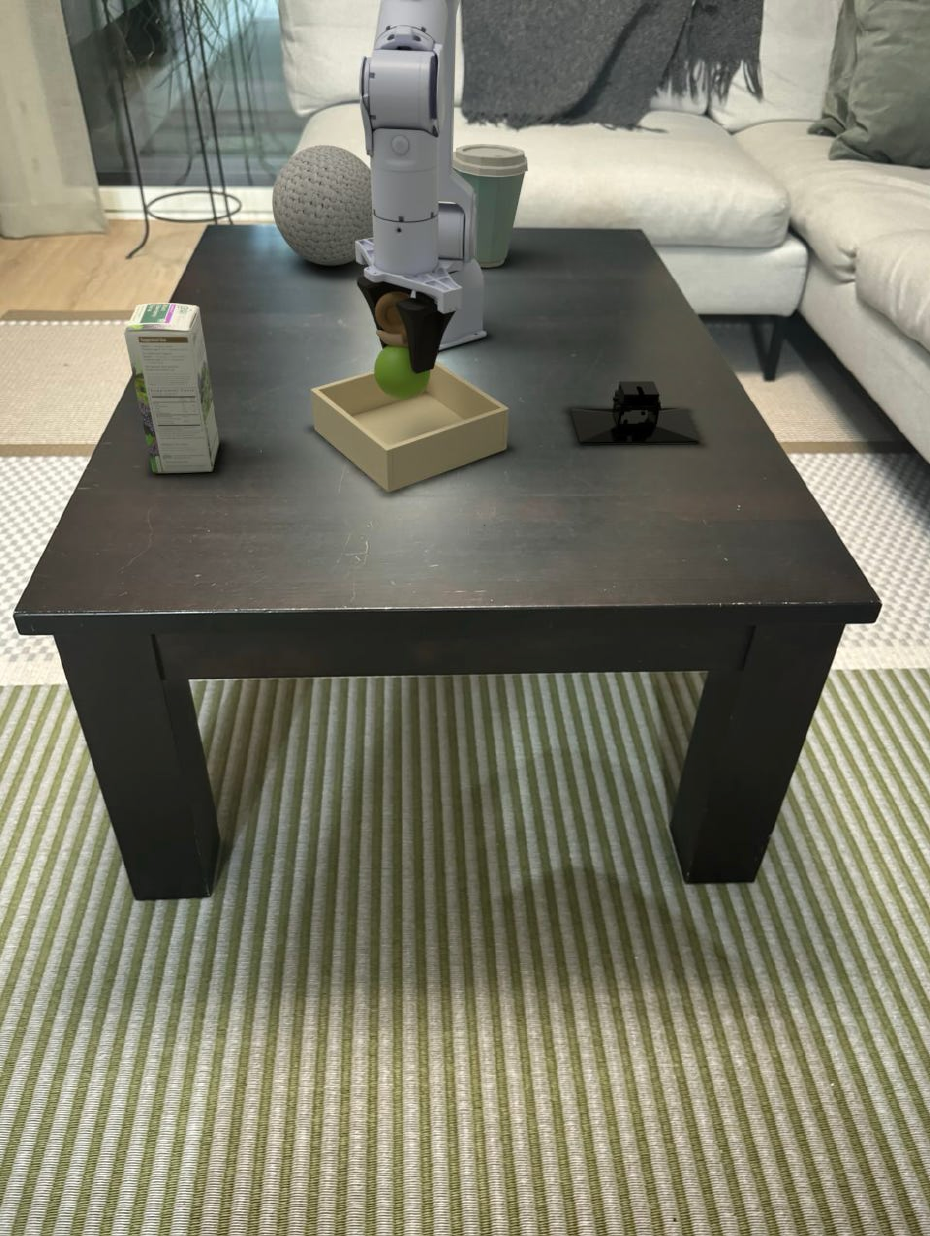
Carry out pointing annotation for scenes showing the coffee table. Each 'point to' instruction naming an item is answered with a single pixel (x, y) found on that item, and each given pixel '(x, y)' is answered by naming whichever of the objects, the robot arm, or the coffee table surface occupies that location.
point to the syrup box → (173, 386)
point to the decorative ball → (324, 204)
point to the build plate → (634, 419)
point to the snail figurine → (395, 352)
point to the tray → (410, 426)
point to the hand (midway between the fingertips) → (407, 359)
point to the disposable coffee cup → (492, 195)
